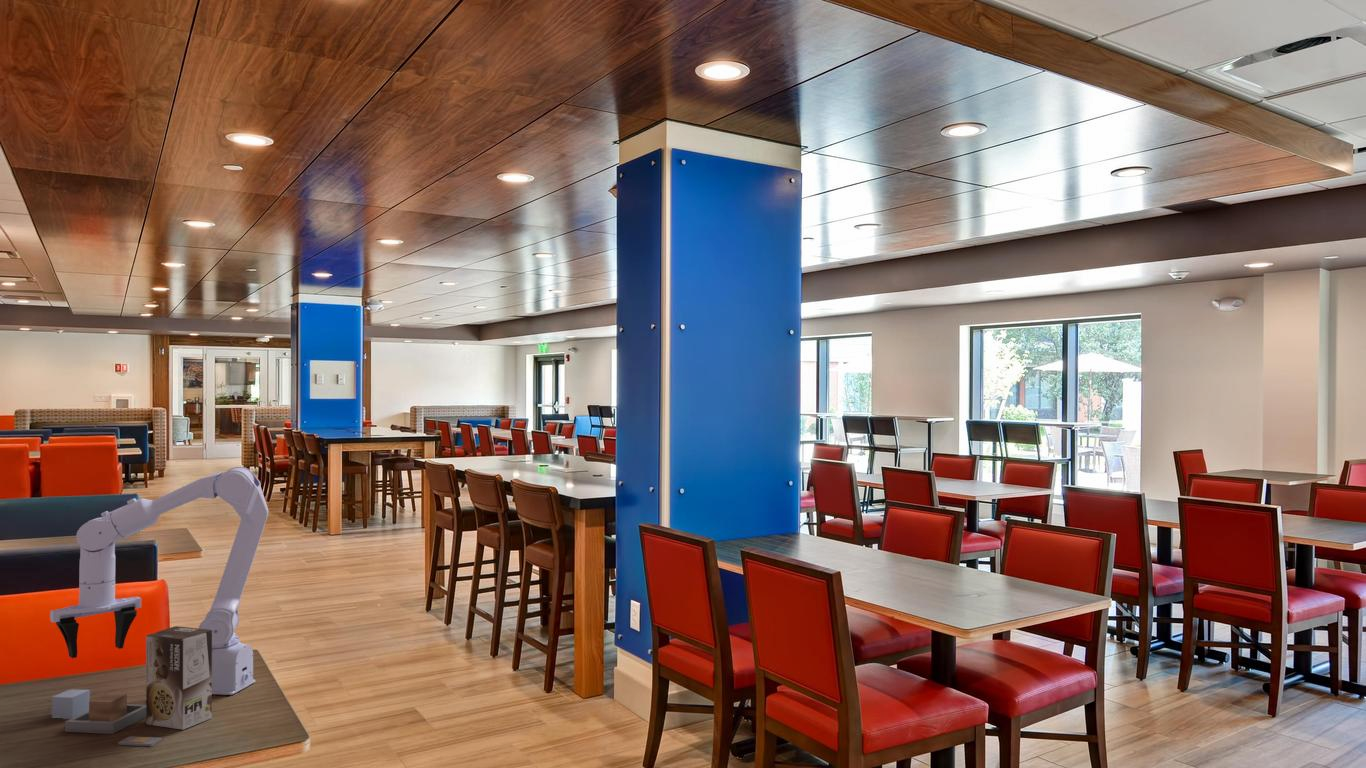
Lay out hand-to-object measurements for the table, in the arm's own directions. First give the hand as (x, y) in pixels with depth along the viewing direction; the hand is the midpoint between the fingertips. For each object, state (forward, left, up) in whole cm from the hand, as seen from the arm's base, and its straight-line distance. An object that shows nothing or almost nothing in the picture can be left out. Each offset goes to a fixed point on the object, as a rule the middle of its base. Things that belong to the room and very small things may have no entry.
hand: (96, 652), depth 163 cm
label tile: (-23, +17, -10) cm, 30 cm away
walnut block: (-10, +10, -9) cm, 17 cm away
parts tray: (-11, +10, -10) cm, 17 cm away
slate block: (-1, +7, -10) cm, 12 cm away
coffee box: (-23, +8, -10) cm, 26 cm away
